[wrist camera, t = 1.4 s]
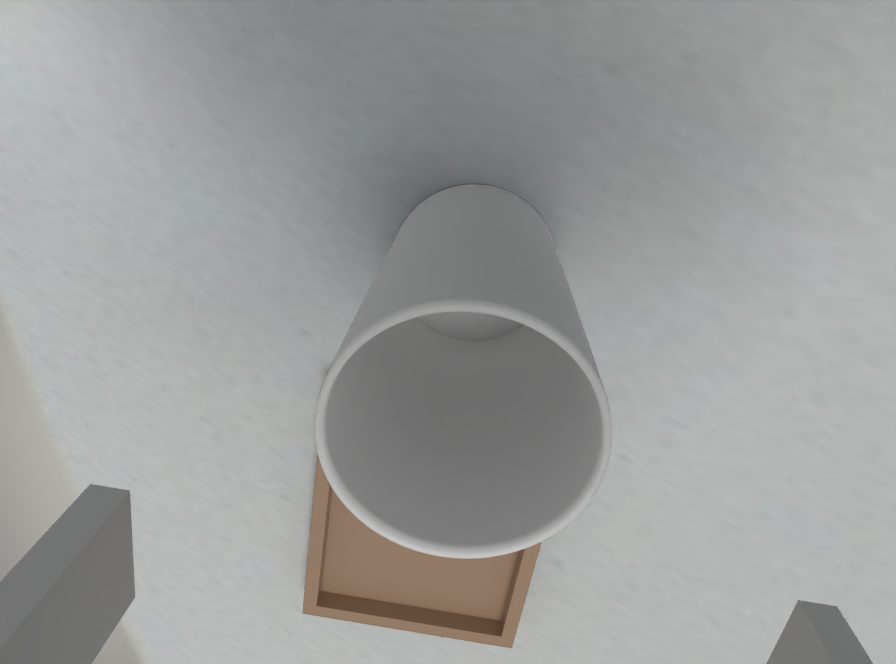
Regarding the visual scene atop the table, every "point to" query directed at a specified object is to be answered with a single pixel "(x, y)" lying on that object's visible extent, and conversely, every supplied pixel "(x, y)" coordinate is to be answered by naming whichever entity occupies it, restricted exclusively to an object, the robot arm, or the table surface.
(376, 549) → the tray
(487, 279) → the cup
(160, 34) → the table surface
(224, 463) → the table surface
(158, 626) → the table surface
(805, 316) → the table surface
